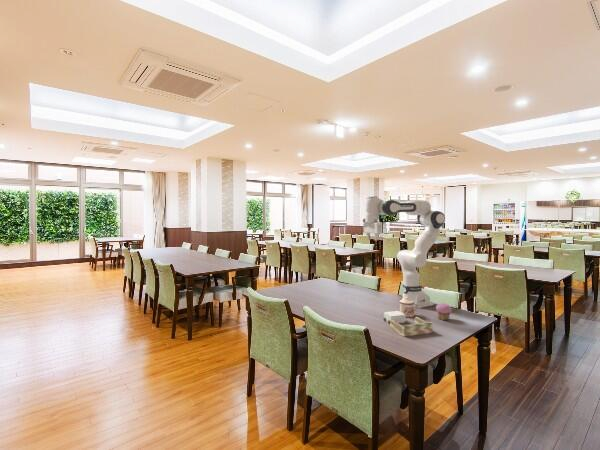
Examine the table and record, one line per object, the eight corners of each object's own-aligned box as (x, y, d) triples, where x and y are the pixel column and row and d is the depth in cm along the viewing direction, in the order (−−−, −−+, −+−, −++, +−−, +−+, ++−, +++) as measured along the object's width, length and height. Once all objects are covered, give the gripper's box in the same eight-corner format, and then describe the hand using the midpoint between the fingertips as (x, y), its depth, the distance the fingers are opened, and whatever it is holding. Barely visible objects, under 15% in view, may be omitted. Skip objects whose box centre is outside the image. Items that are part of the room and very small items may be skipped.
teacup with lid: (404, 318, 198) (404, 299, 198) (396, 313, 207) (396, 296, 207) (421, 316, 201) (421, 298, 200) (413, 312, 210) (413, 294, 209)
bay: (416, 324, 186) (416, 314, 186) (432, 332, 173) (432, 322, 173) (390, 327, 182) (389, 318, 181) (403, 336, 169) (403, 326, 168)
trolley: (397, 317, 200) (397, 310, 200) (406, 322, 191) (406, 314, 191) (381, 319, 197) (381, 311, 196) (389, 324, 188) (389, 316, 188)
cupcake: (445, 316, 200) (445, 301, 199) (454, 321, 191) (454, 304, 191) (433, 317, 198) (432, 301, 198) (441, 322, 190) (441, 305, 189)
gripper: (384, 220, 208) (384, 240, 209) (369, 219, 228) (369, 238, 228) (375, 220, 206) (376, 241, 207) (361, 219, 226) (361, 239, 227)
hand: (372, 239), depth 218 cm, fingers open, 8 cm apart
